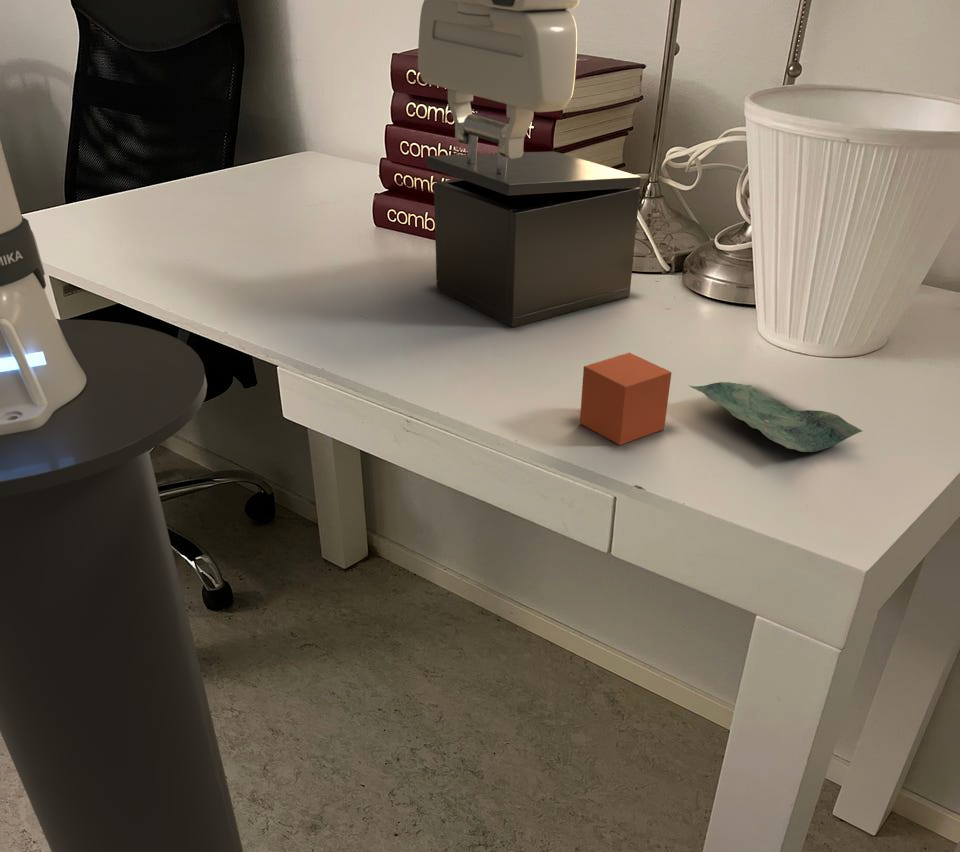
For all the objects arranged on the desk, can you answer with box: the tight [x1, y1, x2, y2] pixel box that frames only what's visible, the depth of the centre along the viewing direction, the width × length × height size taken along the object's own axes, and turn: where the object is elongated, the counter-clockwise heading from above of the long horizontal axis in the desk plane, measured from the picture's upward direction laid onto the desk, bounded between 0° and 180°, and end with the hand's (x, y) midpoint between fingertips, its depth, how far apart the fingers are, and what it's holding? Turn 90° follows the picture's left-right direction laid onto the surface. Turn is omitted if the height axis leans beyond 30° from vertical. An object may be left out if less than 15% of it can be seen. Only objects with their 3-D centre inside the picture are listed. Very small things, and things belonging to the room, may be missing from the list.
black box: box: [433, 178, 641, 328], centre depth 102 cm, size 16×14×11 cm
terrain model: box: [687, 381, 863, 453], centre depth 80 cm, size 13×8×2 cm, turn 29°
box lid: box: [425, 113, 642, 196], centre depth 97 cm, size 17×14×5 cm
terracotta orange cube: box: [579, 352, 672, 446], centre depth 79 cm, size 5×5×5 cm
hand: (488, 149), depth 94 cm, fingers closed on box lid, 6 cm apart
